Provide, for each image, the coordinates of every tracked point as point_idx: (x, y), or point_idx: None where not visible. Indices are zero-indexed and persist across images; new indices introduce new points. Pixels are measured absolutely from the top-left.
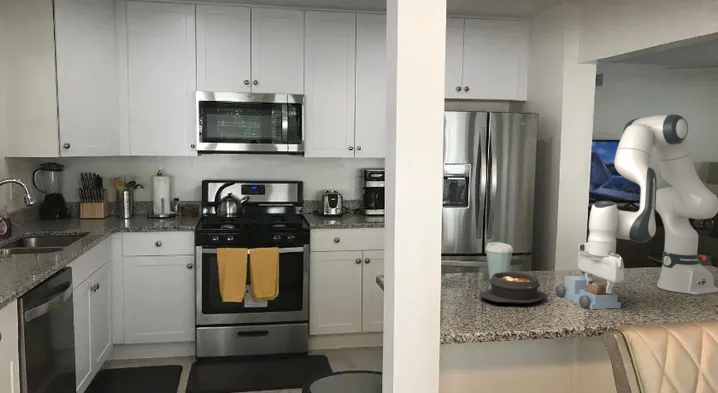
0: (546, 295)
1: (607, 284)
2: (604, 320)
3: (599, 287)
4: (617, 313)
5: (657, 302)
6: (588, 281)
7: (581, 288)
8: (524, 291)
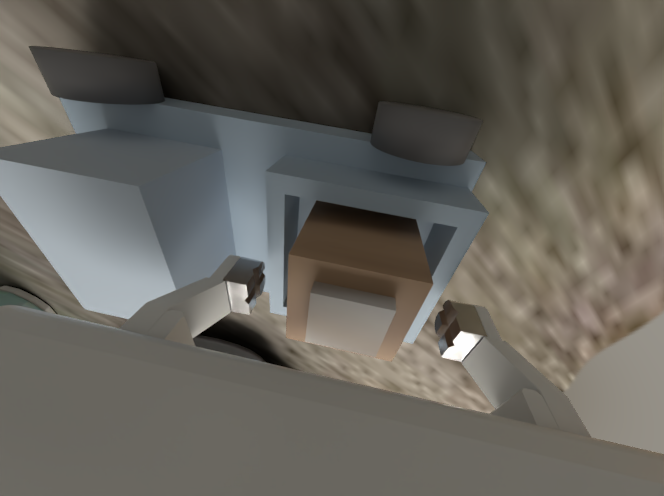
0: (253, 359)
1: (491, 403)
2: (521, 353)
3: (397, 348)
4: (513, 249)
5: None
6: (239, 309)
7: (215, 257)
8: None
